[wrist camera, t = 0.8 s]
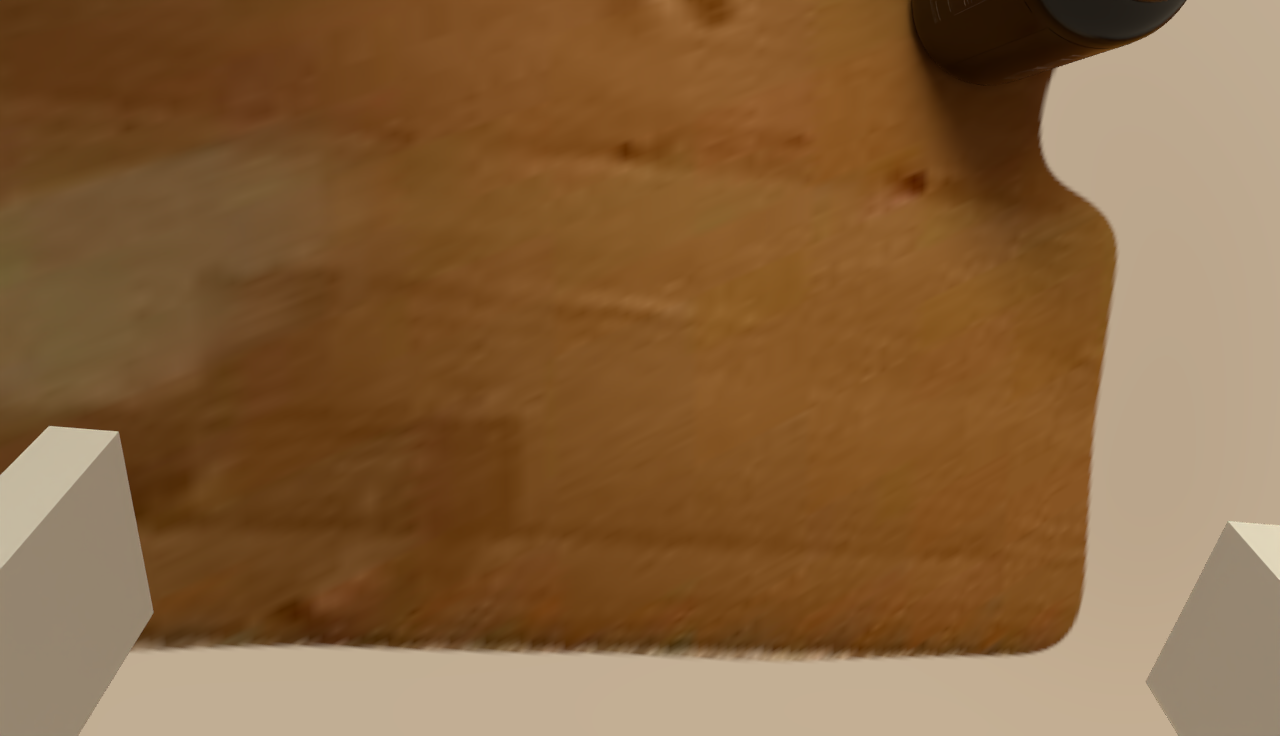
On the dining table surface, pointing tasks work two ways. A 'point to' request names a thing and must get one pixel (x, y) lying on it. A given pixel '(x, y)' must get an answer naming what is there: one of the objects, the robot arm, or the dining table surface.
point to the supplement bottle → (1030, 33)
